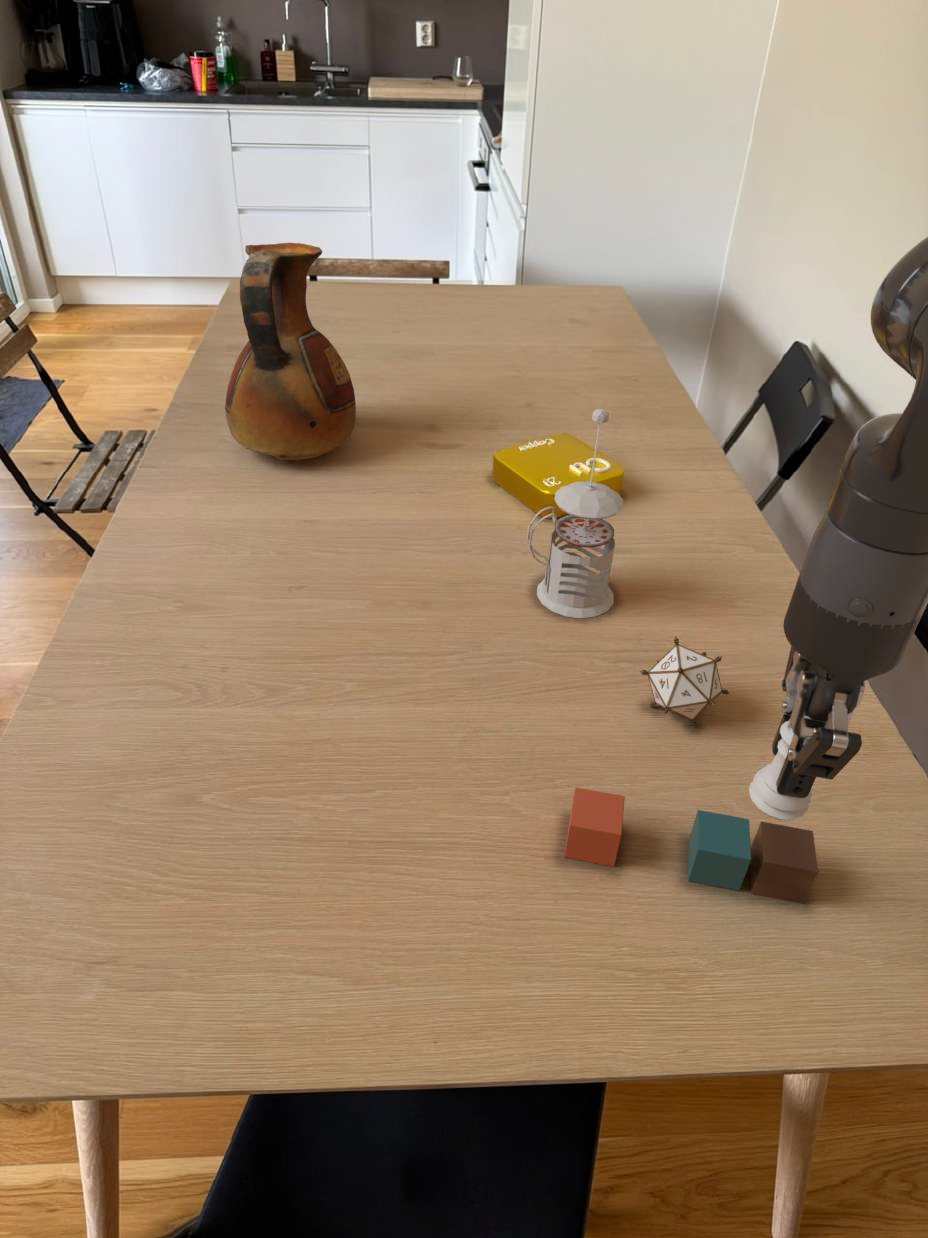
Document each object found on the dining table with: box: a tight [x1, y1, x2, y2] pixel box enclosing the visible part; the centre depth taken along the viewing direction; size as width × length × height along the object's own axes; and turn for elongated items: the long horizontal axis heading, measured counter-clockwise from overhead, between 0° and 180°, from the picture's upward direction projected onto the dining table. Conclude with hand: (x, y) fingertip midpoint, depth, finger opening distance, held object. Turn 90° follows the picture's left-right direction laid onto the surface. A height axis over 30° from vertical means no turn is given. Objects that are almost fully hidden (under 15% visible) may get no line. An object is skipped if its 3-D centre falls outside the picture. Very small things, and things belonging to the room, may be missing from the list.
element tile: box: [491, 432, 625, 519], centre depth 132 cm, size 15×15×5 cm
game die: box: [639, 636, 731, 729], centre depth 94 cm, size 9×8×10 cm
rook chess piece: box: [748, 716, 813, 821], centre depth 65 cm, size 4×4×8 cm
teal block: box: [687, 809, 752, 892], centre depth 79 cm, size 4×4×4 cm
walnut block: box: [749, 821, 819, 904], centre depth 78 cm, size 4×4×4 cm
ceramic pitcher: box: [224, 242, 357, 461], centre depth 132 cm, size 20×20×30 cm
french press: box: [526, 408, 624, 619], centre depth 104 cm, size 10×12×25 cm
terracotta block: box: [564, 787, 626, 868], centre depth 80 cm, size 4×4×4 cm
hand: (788, 772), depth 66 cm, fingers closed on rook chess piece, 3 cm apart
